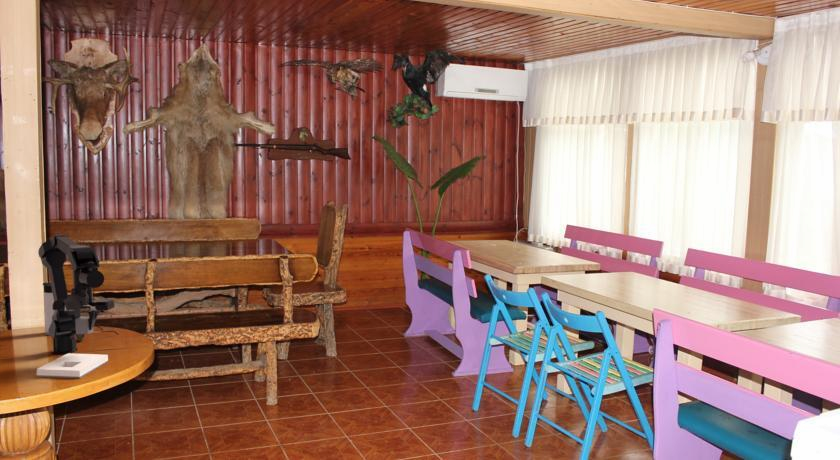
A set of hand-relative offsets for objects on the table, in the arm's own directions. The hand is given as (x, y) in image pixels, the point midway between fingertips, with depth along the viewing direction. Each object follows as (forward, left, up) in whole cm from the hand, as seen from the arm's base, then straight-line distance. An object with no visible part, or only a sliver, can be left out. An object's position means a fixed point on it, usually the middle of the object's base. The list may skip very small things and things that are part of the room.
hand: (84, 329), depth 240 cm
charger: (0, 0, -1) cm, 1 cm away
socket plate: (0, -8, -11) cm, 14 cm away
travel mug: (-32, +35, -12) cm, 49 cm away
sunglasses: (-15, +34, -12) cm, 39 cm away
